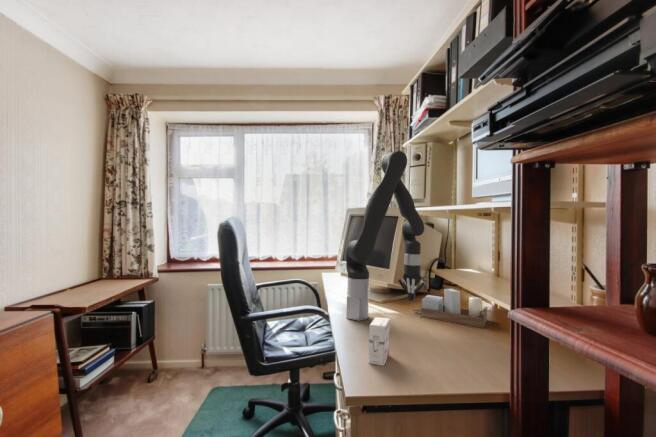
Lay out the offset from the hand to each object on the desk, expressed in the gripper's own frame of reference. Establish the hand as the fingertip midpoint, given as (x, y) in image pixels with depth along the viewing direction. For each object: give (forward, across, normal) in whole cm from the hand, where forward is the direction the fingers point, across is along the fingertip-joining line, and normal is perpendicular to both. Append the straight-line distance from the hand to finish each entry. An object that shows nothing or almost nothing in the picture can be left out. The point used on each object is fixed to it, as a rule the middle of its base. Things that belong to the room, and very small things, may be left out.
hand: (411, 300), depth 152 cm
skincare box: (+5, +18, -1) cm, 19 cm away
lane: (+5, +19, 0) cm, 19 cm away
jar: (+5, +27, 0) cm, 27 cm away
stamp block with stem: (+4, +7, 0) cm, 8 cm away
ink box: (+5, +7, -55) cm, 55 cm away
